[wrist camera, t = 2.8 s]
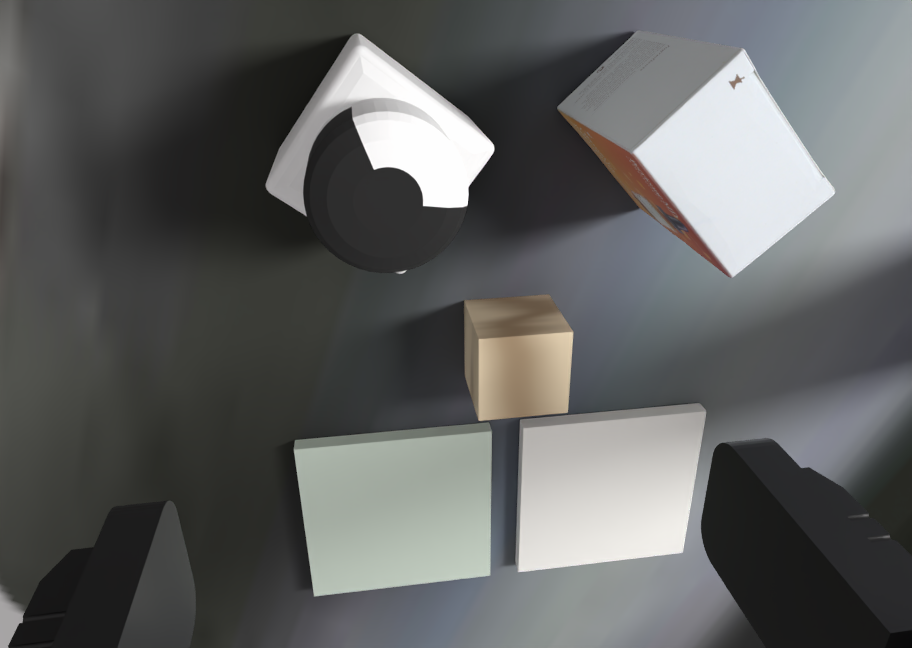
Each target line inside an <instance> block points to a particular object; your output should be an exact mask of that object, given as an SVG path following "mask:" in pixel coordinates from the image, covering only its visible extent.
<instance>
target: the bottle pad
mask: <svg viewBox="0 0 912 648" xmlns="http://www.w3.org/2000/svg"><path fill="white" fill-rule="evenodd" d="M294 455H295V462H296V469H297V476H298V483H299V491H300V498H301V505H302V512H303V519H304V527H305V534H306V541H307V548H308V555H309V563H310V570H311V577H312V584H313V591H314V596H321V595H330V594H338V593H347V592H355V591H364V590H372V589H381V588H389V587H397V586H406V585H414V584H423V583H431V582H440V581H448V580H456V579H465V578H473V577H482V576H490V542H491V456H492V430H491V427H490V424H489V422H487V423H476V424H465V425H454V426H443V427H432V428H421V429H410V430H399V431H389V432H378V433H367V434H356V435H345V436H334V437H323V438H312V439H301V440H295V444H294Z"/></svg>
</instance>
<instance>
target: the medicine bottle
mask: <svg viewBox="0 0 912 648" xmlns="http://www.w3.org/2000/svg"><path fill="white" fill-rule="evenodd" d="M493 152H494V145H493V143H492V142H491V141H490V140H489V139H488V138H487V137H486V135H485V134H484V133H483V132H482V131H481V130H480V129H479V128H478V127H477V126H476V124H475V123H474V122H473V121H472V120H471V119H470V118H469V117H468V116H467V115H466V114H465V113H463V112H462V111H461V110H459V109H458V108H457V107H455V106H454V105H453V104H451V103H450V102H449V101H447V100H446V99H445V98H444V97H442V96H441V95H440V94H438V93H437V92H436V91H434V90H433V89H432V88H430V87H429V86H428V85H426V84H425V83H424V82H423V81H421V80H420V79H419V78H417V77H416V76H415V75H413V74H412V73H411V72H409V71H408V70H407V69H406V68H404V67H403V66H402V65H400V64H399V63H398V62H396V61H395V60H394V59H392V58H391V57H390V56H388V55H387V54H386V53H385V52H383V51H382V50H381V49H379V48H378V47H377V46H375V45H374V44H373V43H371V42H370V41H369V40H367V39H366V38H365V37H364V36H362V35H360V34H353V35H352V36H351V37H350V39H349V40H348V42H347V43H346V45H345V46H344V48H343V50H342V51H341V53H340V54H339V56H338V57H337V59H336V61H335V62H334V64H333V65H332V67H331V68H330V70H329V71H328V73H327V75H326V76H325V78H324V79H323V81H322V82H321V84H320V86H319V87H318V89H317V90H316V92H315V93H314V95H313V96H312V98H311V100H310V101H309V103H308V104H307V106H306V107H305V109H304V111H303V112H302V114H301V115H300V117H299V118H298V120H297V121H296V123H295V125H294V126H293V128H292V129H291V131H290V132H289V134H288V136H287V137H286V139H285V140H284V142H283V143H282V145H281V146H280V148H279V150H278V153H277V156H276V158H275V161H274V163H273V166H272V169H271V171H270V174H269V176H268V179H267V182H266V189H267V191H268V192H269V193H270V194H272V195H274V196H275V197H277V198H278V199H280V200H282V201H283V202H285V203H286V204H288V205H290V206H291V207H293V208H294V209H296V210H297V211H299V212H301V213H302V214H304V215H305V216H307V218H308V220H309V223H310V225H311V227H312V229H313V231H314V233H315V234H316V236H317V237H318V239H319V240H320V241H321V243H322V244H323V245H324V246H325V247H326V248H327V249H328V250H329V251H330V252H331V253H332V254H334V255H335V256H336V257H338V258H339V259H340V260H342V261H344V262H346V263H347V264H349V265H352V266H354V267H356V268H359V269H362V270H366V271H370V272H378V273H394V272H396V273H399V274H401V273H404V272H405V271H406V270H410V269H413V268H416V267H418V266H421V265H423V264H425V263H427V262H428V261H430V260H432V259H433V258H435V257H436V256H437V255H438V254H440V253H441V252H442V251H443V250H444V249H445V248H446V247H447V246H448V245H449V244H450V243H451V241H452V240H453V239H454V237H455V236H456V234H457V232H458V231H459V229H460V227H461V225H462V222H463V220H464V217H465V214H466V210H467V205H468V195H469V193H468V187H469V185H470V184H471V183H472V181H473V180H474V179H475V177H476V176H477V175H478V173H479V172H480V171H481V169H482V168H483V167H484V165H485V164H486V163H487V161H488V160H489V159H490V157H491V156H492V155H493Z"/></svg>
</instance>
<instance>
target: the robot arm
mask: <svg viewBox="0 0 912 648" xmlns="http://www.w3.org/2000/svg"><path fill="white" fill-rule="evenodd" d="M701 533H702V539H703V544H704V547H705V551H706V553H707V556H708V558H709V560H710V562H711V564H712V565H713V567H714V568H715V570H716V571H717V573H718V575H719V576H720V578H721V579H722V581H723V582H724V584H725V585H726V587H727V589H728V590H729V592H730V593H731V595H732V596H733V598H734V599H735V601H736V603H737V604H738V606H739V607H740V609H741V610H742V612H743V613H744V615H745V616H746V618H747V620H748V621H749V623H750V624H751V626H752V627H753V629H754V630H755V632H756V634H757V635H758V637H759V638H760V640H761V641H762V643H763V644H764V646H765V648H912V556H911V555H910V554H909V553H908V552H907V551H906V550H905V549H904V548H903V547H902V546H901V545H900V544H899V543H898V542H897V541H896V540H891V539H890V534H889V533H888V532H887V531H886V530H885V529H884V528H883V527H882V526H881V525H880V524H879V523H878V522H877V521H876V520H875V519H874V518H872V519H870V518H869V513H868V512H867V511H866V510H865V509H864V508H863V507H862V506H861V505H860V504H859V503H858V502H857V501H856V500H855V499H854V498H853V497H852V496H851V495H850V494H849V493H848V492H847V491H846V490H845V489H844V488H843V487H841V486H839V485H838V484H836V483H834V482H833V481H831V480H829V479H828V478H826V477H824V476H822V475H821V474H819V473H817V472H816V471H814V470H812V469H811V468H800V467H799V465H798V464H797V463H796V462H795V461H794V460H793V459H792V458H791V457H790V456H789V455H788V454H787V453H786V452H785V451H784V450H783V449H782V448H781V447H780V446H779V445H778V444H777V443H776V442H775V441H774V440H772V439H769V438H763V439H754V440H745V441H735V442H726V443H721V444H719V445H718V446H717V447H716V448H715V450H714V453H713V457H712V463H711V469H710V474H709V480H708V486H707V491H706V497H705V503H704V508H703V514H702V520H701ZM195 613H196V594H195V585H194V579H193V575H192V571H191V567H190V563H189V558H188V554H187V550H186V546H185V542H184V538H183V533H182V529H181V525H180V521H179V517H178V513H177V509H176V507H175V505H174V503H173V502H172V501H162V502H153V503H143V504H134V505H125V506H116V507H113V508H112V509H111V510H110V512H109V514H108V516H107V518H106V520H105V523H104V525H103V527H102V530H101V532H100V534H99V537H98V539H97V541H96V544H95V546H94V547H92V548H83V549H75V550H71V551H70V552H69V553H68V554H67V555H66V556H65V557H64V558H63V559H62V560H61V561H60V562H59V563H58V564H57V565H56V566H55V567H54V568H53V569H52V570H51V571H50V572H49V573H48V574H47V575H46V576H45V577H44V578H43V579H42V580H41V581H40V583H39V585H38V587H37V589H36V591H35V593H34V595H33V597H32V599H31V601H30V603H29V605H28V607H27V609H26V611H25V613H24V615H23V623H20V624H19V625H18V627H17V629H16V631H15V633H14V635H13V637H12V640H11V642H10V643H9V645H8V647H9V648H189V647H190V643H191V638H192V634H193V629H194V623H195Z"/></svg>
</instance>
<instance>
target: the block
mask: <svg viewBox="0 0 912 648" xmlns="http://www.w3.org/2000/svg"><path fill="white" fill-rule="evenodd" d="M572 344H573V331H572V329H571V328H570V326H569V325H568V323H567V321H566V320H565V318H564V317H563V315H562V314H561V312H560V311H559V309H558V308H557V306H556V305H555V303H554V302H553V300H552V299H551V297H550V295H549V294H548V295H534V296H520V297H506V298H491V299H477V300H464V346H465V378H466V381H467V385H468V388H469V391H470V394H471V398H472V401H473V404H474V407H475V411H476V414H477V417H478V420H479V421H483V420H494V419H505V418H516V417H526V416H537V415H548V414H559V413H568V403H569V388H570V373H571V358H572Z"/></svg>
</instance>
